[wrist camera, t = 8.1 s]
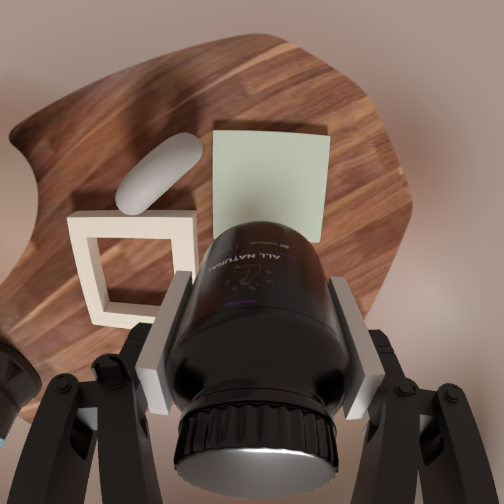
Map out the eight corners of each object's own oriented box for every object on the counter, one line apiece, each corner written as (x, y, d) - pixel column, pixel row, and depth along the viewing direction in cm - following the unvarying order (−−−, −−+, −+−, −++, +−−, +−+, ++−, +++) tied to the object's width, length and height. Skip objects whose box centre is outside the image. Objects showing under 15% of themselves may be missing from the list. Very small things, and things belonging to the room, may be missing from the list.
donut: (195, 122, 30) (170, 127, 21) (216, 146, 31) (200, 160, 22) (132, 183, 33) (91, 210, 24) (152, 204, 34) (117, 238, 25)
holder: (99, 313, 41) (92, 324, 39) (76, 210, 34) (66, 217, 32) (202, 323, 41) (200, 335, 39) (196, 210, 34) (192, 217, 32)
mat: (214, 235, 35) (213, 238, 34) (214, 130, 30) (213, 130, 29) (317, 238, 35) (319, 242, 35) (328, 135, 30) (330, 136, 29)
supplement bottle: (254, 190, 16) (247, 380, 5) (342, 268, 17) (418, 456, 7) (177, 276, 18) (106, 463, 7) (263, 336, 20) (264, 515, 9)
